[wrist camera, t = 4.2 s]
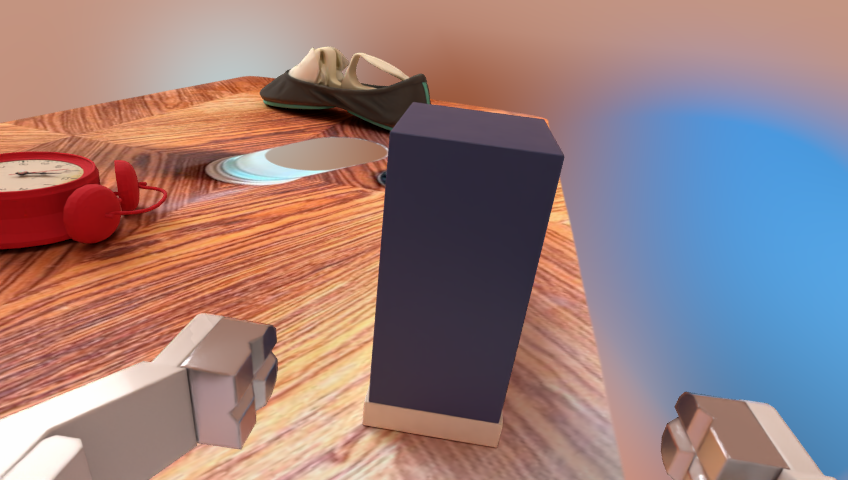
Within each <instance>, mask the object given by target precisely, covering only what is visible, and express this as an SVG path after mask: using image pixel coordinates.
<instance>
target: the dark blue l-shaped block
mask: <svg viewBox="0 0 848 480" xmlns="http://www.w3.org/2000/svg"><path fill="white" fill-rule="evenodd" d="M563 161H564V154H563V152H562V151H561V149H560V147H559V145H558V144H557V142H556V140H555V138H554V137H553V135H552V133H551V131H550V129H549V127H548V126H547V124H546V122H545V120H544V119H536V118H529V117H521V116H514V115H506V114H499V113H491V112H484V111H477V110H469V109H462V108H454V107H447V106H439V105H432V104H424V103H417V102H413V103H412V104H411V105H410V107H409V108H408V109H407V111H406V112H405V113H404V115H403V116H402V117H401V118H400V120H399V121H398V122H397V124H396V125H395V126H394V128H393V129H392V130H391V132H390V137H389V150H388V162H387V175H386V187H385V200H384V213H383V225H382V238H381V250H380V263H379V275H378V288H377V300H376V313H375V325H374V338H373V350H372V363H371V375H370V384H369V387H368V391H367V394H366V397H365V400H364V410H363V425H366V426H372V427H378V428H384V429H390V430H396V431H401V432H407V433H413V434H419V435H425V436H431V437H437V438H443V439H448V440H454V441H460V442H466V443H472V444H478V445H484V446H490V447H497V446H498V443H499V439H500V435H501V431H502V427H503V415H502V409H503V404H504V400H505V396H506V392H507V388H508V384H509V380H510V376H511V372H512V368H513V364H514V360H515V356H516V352H517V348H518V343H519V339H520V335H521V331H522V327H523V323H524V319H525V315H526V311H527V307H528V303H529V299H530V295H531V291H532V287H533V283H534V278H535V274H536V270H537V266H538V262H539V258H540V254H541V250H542V246H543V242H544V238H545V234H546V230H547V226H548V222H549V217H550V213H551V209H552V205H553V201H554V197H555V193H556V189H557V185H558V181H559V177H560V173H561V169H562V165H563Z"/></svg>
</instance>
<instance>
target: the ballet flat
mask: <svg viewBox="0 0 848 480" xmlns="http://www.w3.org/2000/svg"><path fill="white" fill-rule="evenodd" d="M360 56H361V57H362V58H364V59H365V60H366V61H368V62H369V63H370V64H372V65H374V66H375V67H377V68H379V69H381V70H383V71H385V72H387V73H389V74H391V75H394V76H395V77H397V78H399V79H400V80H402V81H401V82H398V83H396V84H393V85H391V86H376V85H368V84H363V83H360V82H359V81H358V79H357V76H356V66H357V63H358V60H359V58H360ZM348 65H349V66H348ZM347 66H348V68H347V71H346V73H345V76H344V75H343V73H342V71H343V70H344V69H345V68H346V67H347ZM260 95H261V97H262V98H263V99H264V100H263V101H264V103H265V104H267V105H271V106H276V107H284V108H293V109H329V108H334V107H338V108H342V109H345V110H347V111H348V112H349V113H350V114H352V115H354V116H357V117H359V118H361V119H363V120H365V121H368V122H370V123H372V124H374V125H376V126H379V127H382V128H384V129H387V130H390V131H391V130H392V129H393V128H394V126H395V125H396V124H397V122H398V121H399V120H400V118H401V117H402V116H403V115H404V113H405V112H406V111H407V109H408V108H409V107H410V105H411V104H412V103H413V102H417V103H424V104H431V102H430V95H429V89H428V85H427V80H426V77H425V76H424V75H423V74H418V75H415V76H413V77H411V78H409V77H408V76H406V75H405V74H404V73H403V72H401V71H400V70H399V69H397V68H396V67H394V66H392V65H390V64H389V63H387V62H385V61H383V60H381V59H378V58H376V57H373V56H369V55H367V54H365V53H356V54H354V55H353V57H352V59H351V61H350V63H349V61H348V60H347V59H346V58H345V57H344V55H343V54H342V53H341V52H340V51H339V50H338V49H336V48H334V47H322V48H318V49H314V48H312V49H311V50H310V51H309V54H308V55H306V57H305V58H304V59H303V60H302V62H301V63H300V64H299V65H296V66H295V67H294V68H293V69H290V70H287V71H286V72H285V73H284V74H282V75H281V76H279V77H277V78H276V79H275V80H273V81H272V82H271V83H269V84H268V85H267V86H265V87H264V88H263V89H262V90H261V91H260Z"/></svg>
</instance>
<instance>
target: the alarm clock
mask: <svg viewBox="0 0 848 480" xmlns="http://www.w3.org/2000/svg"><path fill="white" fill-rule="evenodd" d="M115 173H116V181H117V187H118V192H112V191H111V190H110V189H109V188H107V187H104V186H102V185H100V180H99V171H98V169H97V167H96V166H95V164H94V162H92V161H91V160H90V159H88V158H85V157H82V156H78V155H74V154H68V153H59V152H13V153H3V154H0V249H11V248H24V247H31V246H38V245H45V244H51V243H55V242H59V241H63V240H67V239H71V238H72V239H73V240H75V241H78V242H81V243H97V242H100V241H102V240H105V239H106V238H108V237H109V236H111V235H112V234H113V233H114V231H115V230H116V228H117V227H118V225H119V222H120V217H121V215H128V214H139V213H144V212H148V211H151V210H153V209H155V208H157V207H159V206H160V205H161V204H162V203H163V202H164V201H165V200H166V198H167V192H166V191H165V190H163V189H161V188H157V187H150V186H146V185H147V183H146V182H138V180H137V176H136V173H135V170H134V168H133V166H132V165H131V164H130V163H128V162H126V161H122V160H116V161H115ZM139 188H141V189H150V190H156V191H160V192H162V193H163V194H164V196H163V198H162V199H161V200H160V201H159V202H158V203H157V204H155V205H153V206H151V207H149V208H146V209H142V210H135V209H136V207H137V206H138V203H139ZM117 195H119V198H117ZM120 205H121V206H120ZM121 210H122V211H121ZM133 210H134V211H133Z"/></svg>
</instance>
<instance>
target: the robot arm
mask: <svg viewBox="0 0 848 480" xmlns="http://www.w3.org/2000/svg"><path fill="white" fill-rule="evenodd" d="M276 343H277V337H276V328H275V327H274V326H273V325H270V324H264V323H259V322H253V321H248V320H243V319H237V318H232V317H224V316H219V315H213V314H208V313H201V314H198V315H196V316H195V317H194V318H193V319H192V320H191V321H190V322H189V323H188V324H187V326H186V327H185V328H184V329H183V330H182V331H181V332H180V333H179V334H178V335H177V336H176V337H175V338H174V339H173V340H172V341H171V342H170V343H169V344H168V345H167V346H166V347H165V348H164V349H163V350H162V351H161V352H160V354H159V355H158V356H157V357H156V358H155V359H154V360H153V361H152V362H145V361H143V362H140V363H138V364H135V365H133V366H131V367H128V368H126V369H123V370H121V371H118V372H116V373H113V374H111V375H108V376H106V377H103V378H101V379H99V380H96V381H94V382H91V383H89V384H86V385H84V386H81V387H79V388H76V389H74V390H72V391H69V392H67V393H64V394H62V395H59V396H57V397H54V398H52V399H49V400H47V401H44V402H42V403H40V404H37V405H35V406H32V407H30V408H27V409H25V410H22V411H20V412H17V413H15V414H13V415H10V416H8V417H5V418H3V419H0V480H149V479H150V478H152V477H153V476H155V475H156V474H157V473H159V472H160V471H162V470H163V469H165V468H166V467H167V466H169V465H170V464H172V463H173V462H174V461H176V460H177V459H179V458H180V457H182V456H183V455H184V454H186V453H187V452H189V451H190V450H191V449H193V448H194V447H196V446H197V443H200V444H207V445H214V446H221V447H227V448H234V449H241V448H242V447H243V445H244V443H245V441H246V440H247V438H248V436H249V434H250V433H251V431H252V429H253V427H254V425H255V424H256V411H257V410H258V409H260V408H262V407H264V406H265V405H266V404H267V402H268V400H269V398H270V397H271V395H272V392H273V389H274V386H275V382H276V378H277V370H278V360H277V358H276V357H275V355H274V354H273V353H272V349H273V347H274V346H275V344H276ZM675 409H676V411H677V413H678V416H679V417H677V418H676V419H674V420H672V421H671V422H669V423H667V425H666V427H665V430H664V433H663V435H662V443H661V454H662V460H663V464H664V466H665V469H666V472H667V474H668V475H669V476H670V477H671V478H672V479H673V480H836V479H835V478H834V477H828V476H824V475H823V473H822V472H821V471H820V469H819V468H818V467H817V465H816V464H815V462H814V461H813V460H812V458H811V457H810V456H809V454H808V453H807V452H806V450H805V449H804V448H803V446H802V445H801V444H800V442H799V441H798V439H797V438H796V437H795V435H794V434H793V432H792V431H791V430H790V428H789V427H788V426H787V425H786V423H785V422H784V420H783V419H782V417H781V416H780V415H779V413H778V412H777V411H776V409H775V408H773V407H772V406H770V405H769V404H767V403H761V402H754V401H747V400H735V399H728V398H722V397H715V396H709V395H702V394H696V393H689V392H684V393H683V394H682V395H681V396H680V397H679V398H678V401H677V403H676V405H675Z"/></svg>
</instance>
